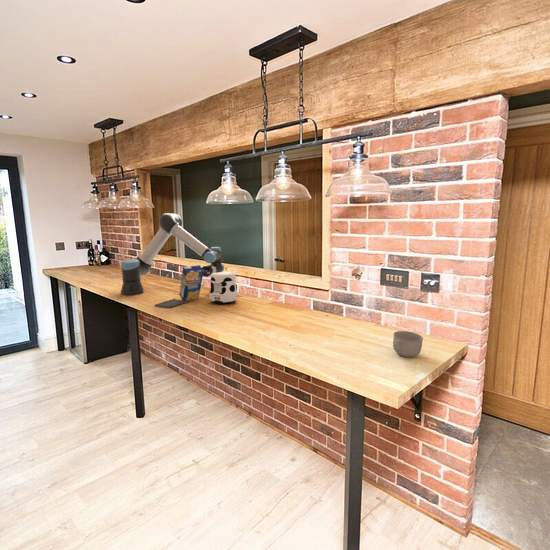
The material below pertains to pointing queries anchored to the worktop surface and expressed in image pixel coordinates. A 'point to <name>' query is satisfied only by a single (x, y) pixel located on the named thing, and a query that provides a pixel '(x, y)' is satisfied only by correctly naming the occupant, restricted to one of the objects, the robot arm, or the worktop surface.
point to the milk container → (223, 287)
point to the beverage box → (191, 282)
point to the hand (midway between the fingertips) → (186, 275)
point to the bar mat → (171, 303)
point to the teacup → (407, 343)
